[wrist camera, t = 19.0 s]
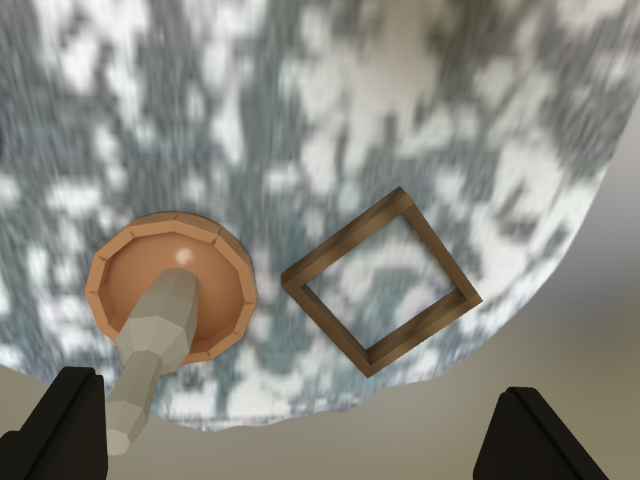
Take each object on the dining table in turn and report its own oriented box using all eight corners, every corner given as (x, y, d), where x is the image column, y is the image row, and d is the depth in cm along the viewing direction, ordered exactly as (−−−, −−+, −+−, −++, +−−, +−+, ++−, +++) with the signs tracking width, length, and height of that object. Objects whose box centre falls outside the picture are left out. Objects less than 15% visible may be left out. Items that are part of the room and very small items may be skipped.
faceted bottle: (145, 304, 50) (57, 471, 30) (153, 255, 48) (64, 398, 27) (201, 315, 51) (154, 482, 31) (212, 266, 49) (168, 412, 29)
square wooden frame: (399, 186, 49) (407, 193, 46) (472, 288, 55) (483, 301, 52) (281, 274, 51) (281, 286, 48) (363, 363, 57) (367, 378, 54)
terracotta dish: (181, 179, 46) (174, 188, 43) (285, 290, 52) (286, 305, 49) (65, 274, 49) (50, 289, 45) (177, 369, 55) (171, 389, 52)
